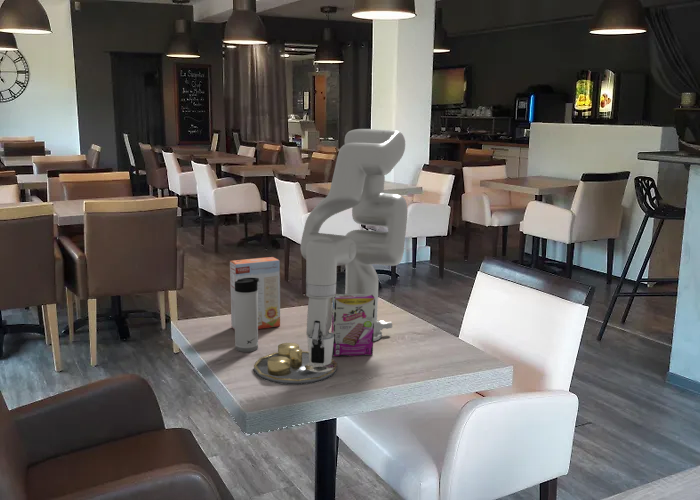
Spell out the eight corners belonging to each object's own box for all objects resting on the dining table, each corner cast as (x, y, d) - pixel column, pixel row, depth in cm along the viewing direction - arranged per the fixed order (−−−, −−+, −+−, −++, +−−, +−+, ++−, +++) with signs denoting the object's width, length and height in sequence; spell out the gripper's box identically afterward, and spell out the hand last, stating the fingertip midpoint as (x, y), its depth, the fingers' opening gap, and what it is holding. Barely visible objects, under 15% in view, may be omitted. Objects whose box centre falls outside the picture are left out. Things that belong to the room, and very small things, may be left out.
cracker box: (273, 321, 217) (273, 256, 212) (280, 327, 211) (280, 259, 207) (230, 327, 210) (229, 259, 206) (236, 332, 205) (235, 263, 201)
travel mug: (254, 353, 188) (254, 281, 184) (231, 351, 189) (230, 279, 186) (262, 345, 194) (262, 276, 190) (239, 343, 195) (239, 274, 192)
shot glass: (301, 363, 175) (302, 336, 173) (314, 355, 181) (314, 329, 179) (326, 368, 172) (326, 341, 171) (338, 359, 178) (338, 333, 177)
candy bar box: (333, 357, 186) (334, 298, 183) (330, 351, 191) (331, 293, 188) (373, 355, 188) (375, 297, 185) (370, 349, 193) (372, 292, 190)
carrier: (320, 351, 191) (320, 333, 190) (349, 378, 172) (349, 359, 171) (245, 359, 183) (245, 341, 182) (266, 389, 164) (266, 369, 163)
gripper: (312, 280, 182) (312, 345, 185) (299, 297, 165) (298, 369, 168) (341, 281, 181) (340, 347, 184) (330, 299, 164) (329, 371, 167)
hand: (320, 357), depth 176 cm, fingers closed on shot glass, 6 cm apart
